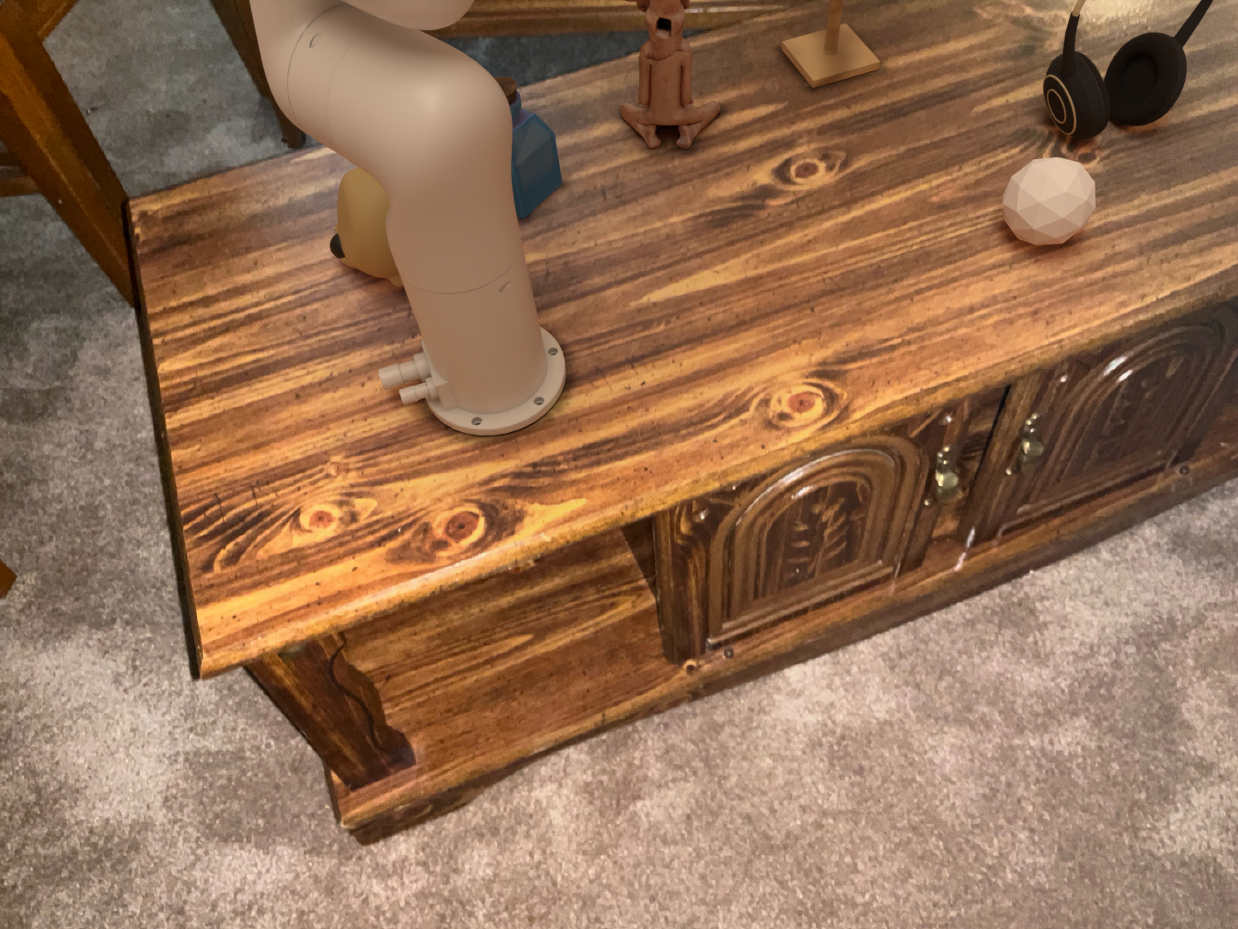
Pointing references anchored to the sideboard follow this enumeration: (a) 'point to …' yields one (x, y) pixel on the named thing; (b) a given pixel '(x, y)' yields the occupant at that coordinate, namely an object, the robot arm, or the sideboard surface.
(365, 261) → the toy pig
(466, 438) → the sideboard surface
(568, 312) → the sideboard surface
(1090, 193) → the geometric ball
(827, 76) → the peg stand
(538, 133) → the perfume bottle
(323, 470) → the sideboard surface
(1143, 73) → the headphones
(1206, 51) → the sideboard surface
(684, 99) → the figurine
